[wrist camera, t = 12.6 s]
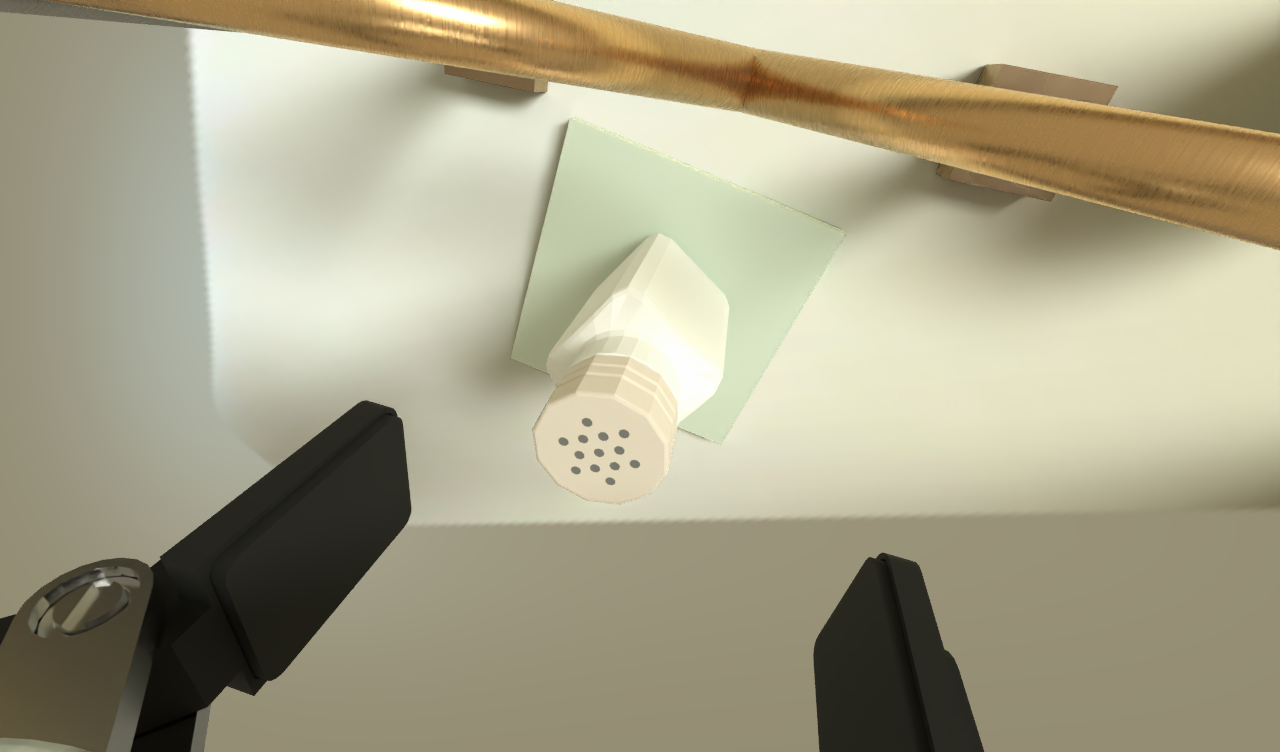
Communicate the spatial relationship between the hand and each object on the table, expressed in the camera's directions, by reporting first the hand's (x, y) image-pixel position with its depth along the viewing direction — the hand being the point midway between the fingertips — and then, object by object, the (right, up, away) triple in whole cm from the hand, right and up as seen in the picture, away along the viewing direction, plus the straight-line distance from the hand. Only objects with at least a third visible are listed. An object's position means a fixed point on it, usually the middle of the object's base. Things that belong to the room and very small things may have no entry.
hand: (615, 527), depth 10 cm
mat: (+1, +6, +10) cm, 12 cm away
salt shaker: (+1, +6, +10) cm, 11 cm away
